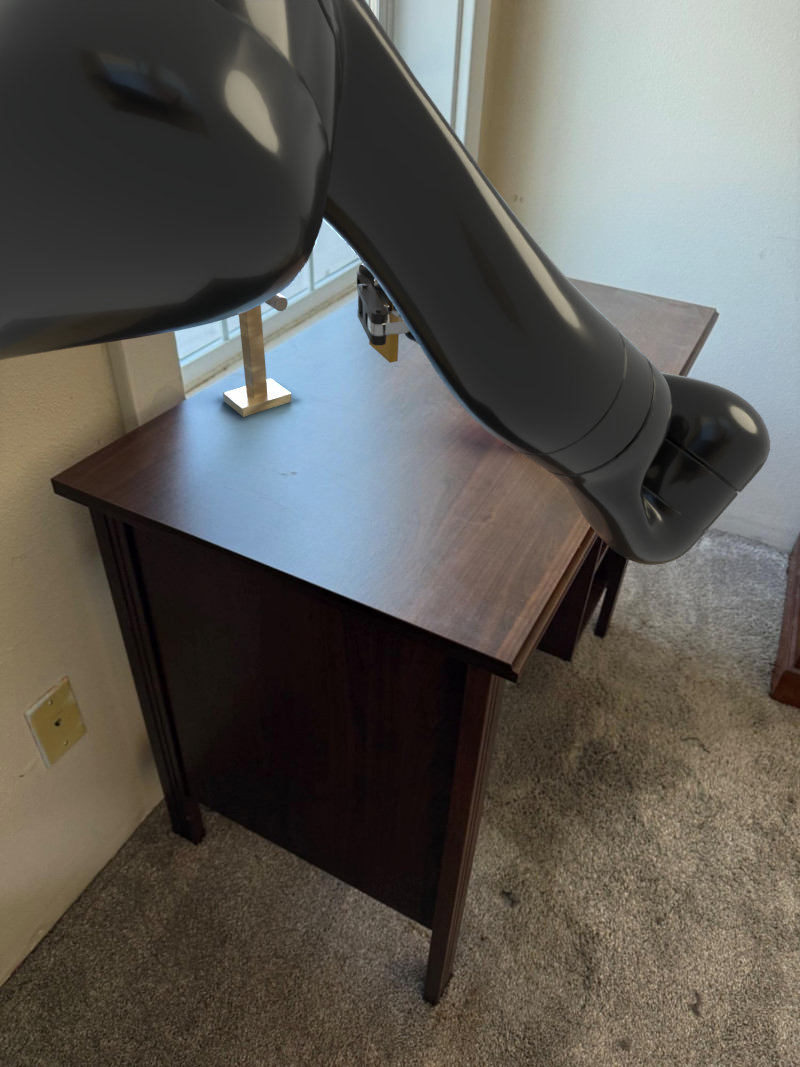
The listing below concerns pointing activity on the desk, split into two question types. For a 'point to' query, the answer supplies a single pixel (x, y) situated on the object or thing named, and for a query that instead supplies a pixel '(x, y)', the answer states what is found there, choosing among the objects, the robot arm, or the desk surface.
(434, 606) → the desk surface
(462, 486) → the desk surface
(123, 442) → the desk surface
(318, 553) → the desk surface
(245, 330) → the rack
